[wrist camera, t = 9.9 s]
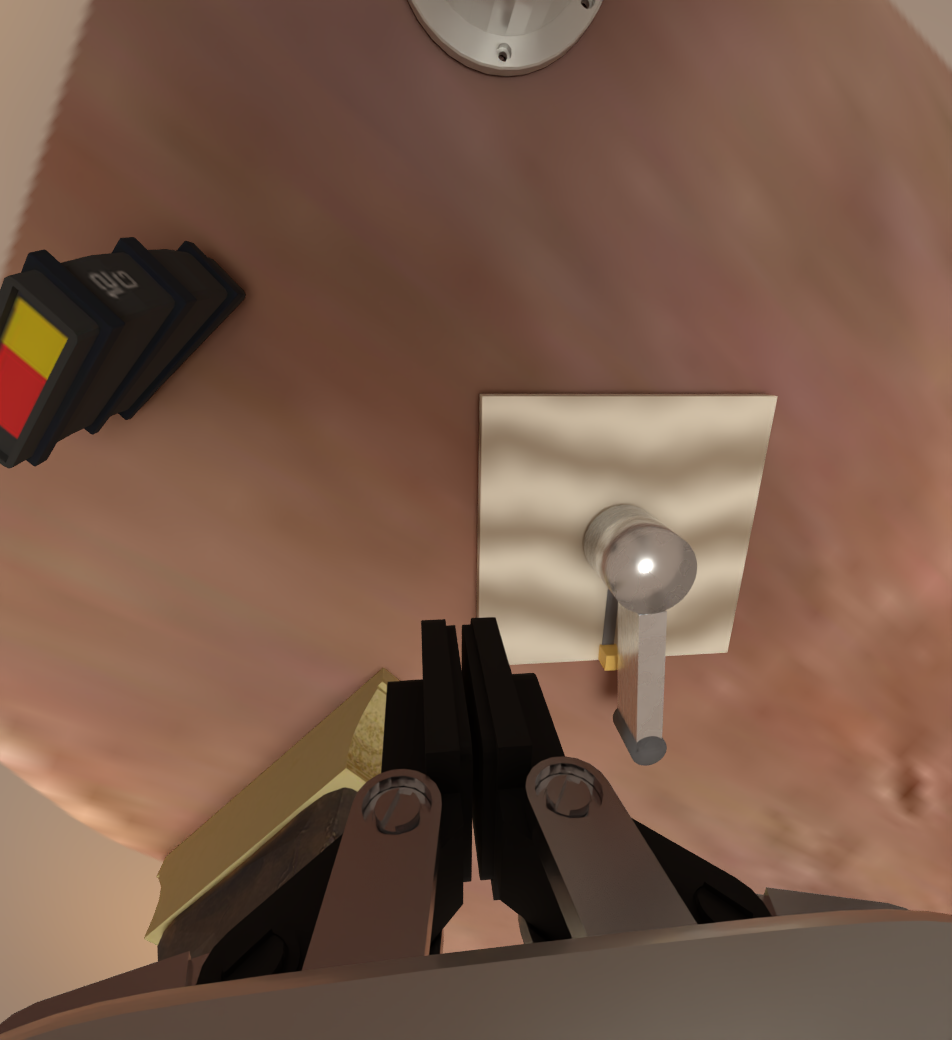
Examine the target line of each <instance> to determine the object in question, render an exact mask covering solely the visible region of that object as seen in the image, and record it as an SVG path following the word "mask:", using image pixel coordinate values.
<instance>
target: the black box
mask: <svg viewBox="0 0 952 1040" xmlns="http://www.w3.org/2000/svg"><path fill="white" fill-rule="evenodd" d="M244 298H245V293H244V291H243V290H242V289H241V288H240V287H239V286H238V285H237V284H236V283H235V282H234V281H233V280H232V279H231V277H230V276H229V275H228V274H227V273H226V272H225V271H224V270H223V269H222V268H221V267H220V266H219V265H218V264H217V263H216V262H215V261H214V260H213V259H211V258H208V257H207V256H206V255H205V254H204V253H203V252H202V251H201V250H200V249H199V248H198V247H197V246H196V245H195V244H194V243H192V242H188V241H185V242H184V243H183V244H182V245H181V246H180V248H179V249H178V250H177V251H175V250H168V249H160V250H147V249H146V248H145V247H144V246H143V245H142V244H141V243H140V242H139V241H138V240H137V239H136V238H134V237H129V238H120V240H119V241H118V243H117V245H116V246H115V248H114V250H113V252H112V253H111V254H101V255H91V256H87V257H83V258H79V259H75V260H71V261H67V262H63V263H60V262H59V261H57V260H56V259H55V258H54V257H53V256H52V255H51V254H50V253H49V252H48V251H46V250H40V251H35V252H31V253H29V254H28V256H27V259H26V261H25V264H24V266H23V269H22V272H21V273H18V274H14V275H10V276H8V277H6V278H4V281H3V284H2V287H1V289H0V463H1V464H2V465H3V466H5V467H7V468H12V467H14V466H16V465H18V464H19V463H21V462H23V461H25V460H27V461H28V462H29V463H31V464H32V465H33V466H37V465H39V464H41V463H42V462H44V461H46V460H47V459H48V457H49V455H50V453H51V452H52V450H53V448H54V447H55V445H56V443H57V442H58V441H60V440H62V439H64V438H65V437H67V436H69V435H71V434H73V433H75V432H77V431H79V430H81V429H83V428H84V429H85V430H87V431H88V432H89V433H90V434H92V435H93V434H95V433H97V432H99V430H100V429H101V428H102V426H103V425H104V424H105V422H106V421H107V420H108V418H109V417H110V416H112V415H114V414H117V413H118V414H120V415H121V416H122V417H123V418H124V419H125V420H128V419H131V418H132V417H133V416H134V415H135V414H136V413H137V411H138V410H139V409H140V408H141V407H142V406H143V405H144V404H145V403H146V402H147V401H148V399H149V398H150V397H151V396H152V395H153V394H154V393H155V392H156V391H157V390H158V389H159V387H160V386H161V385H162V384H163V383H164V382H165V381H166V380H167V379H168V378H169V377H170V376H171V375H172V374H173V373H174V372H175V371H176V370H177V369H178V368H179V367H180V366H181V365H182V363H183V362H184V361H185V360H186V359H187V358H188V357H189V356H190V355H191V354H192V353H193V352H194V351H195V350H196V349H197V348H198V347H199V346H200V345H201V344H202V343H203V342H204V341H205V339H206V338H207V337H208V336H209V335H210V334H211V333H212V332H213V331H214V330H215V329H216V328H217V327H218V326H219V325H220V324H221V323H222V322H223V321H224V320H225V319H226V318H227V317H228V315H229V314H230V313H231V312H232V311H233V310H234V309H235V308H236V307H237V306H238V305H239V304H240V303H241V302H242V301H243V300H244Z"/></svg>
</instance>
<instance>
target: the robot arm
mask: <svg viewBox="0 0 952 1040" xmlns="http://www.w3.org/2000/svg"><path fill="white" fill-rule="evenodd" d="M602 1H603V0H408V2H409V4H410V6H411V8H412V10H413V12H414V14H415V16H416V18H417V19H418V21H419V22H420V24H421V25H422V26H423V28H424V29H425V30H426V32H427V33H428V34H429V36H430V37H431V38H432V40H433V41H435V42H436V43H437V44H438V45H439V46H440V47H441V48H442V49H443V50H444V51H445V52H446V53H447V54H448V55H450V56H451V57H453V58H454V59H456V60H457V61H459V62H461V63H462V64H464V65H465V66H467V67H469V68H472V69H475V70H477V71H480V72H483V73H486V74H492V75H499V76H514V75H523V74H528V73H531V72H534V71H536V70H539V69H542V68H545V67H546V66H548V65H549V64H551V63H553V62H554V61H556V60H557V59H559V58H561V57H562V56H563V55H564V54H565V53H566V52H567V51H568V50H569V49H570V48H571V47H572V46H574V45H575V44H576V43H577V42H578V40H579V39H580V38H581V36H582V35H583V33H584V32H585V30H586V29H587V28H588V26H589V25H590V23H591V22H592V20H593V18H594V17H595V15H596V13H597V11H598V10H599V8H600V6H601V4H602ZM581 3H584V4H585V5H586V6H587V9H586V8H584V7H583V6H582V4H581ZM499 55H503V56H504V57H505V58H506V61H505V62H503V61H500V59H499V58H498V56H499ZM421 628H422V665H423V680H407V681H390V682H388V683H387V693H386V708H385V722H384V737H383V751H382V766H381V773H380V774H378V775H376V776H375V777H373V778H372V779H370V780H368V781H367V782H366V783H365V784H364V785H363V786H362V787H361V788H360V789H359V790H358V792H357V794H356V796H355V798H354V800H353V803H352V806H351V810H350V813H349V816H348V819H347V823H346V826H345V829H344V833H343V834H342V835H340V836H339V837H338V838H337V839H336V840H335V841H334V842H332V843H331V844H330V845H329V846H328V847H327V848H325V849H324V850H323V851H322V852H321V853H320V854H318V855H317V856H316V857H315V858H314V859H313V860H311V861H310V862H309V863H308V864H307V865H306V866H304V867H303V868H302V869H301V870H300V871H299V872H297V873H296V874H295V875H294V876H293V877H292V878H290V879H289V880H288V881H287V882H286V883H285V884H283V885H282V886H281V887H280V888H279V889H278V890H276V891H275V892H274V893H273V894H272V895H271V896H269V897H268V898H267V899H266V900H265V901H264V902H262V903H261V904H260V905H259V906H258V907H257V908H255V909H254V910H253V911H252V912H251V913H250V914H248V915H247V916H246V917H245V918H244V919H243V920H241V921H240V922H239V923H238V924H237V925H236V926H234V927H233V928H232V929H231V930H230V931H229V932H228V933H227V934H226V935H225V936H224V937H223V938H222V939H221V940H220V941H219V942H218V943H217V944H216V945H215V946H214V947H213V949H212V950H211V952H210V953H207V954H204V955H202V956H199V957H196V958H193V959H191V956H190V952H189V951H188V952H185V953H182V954H179V955H176V956H173V957H170V958H167V959H164V960H161V961H158V962H155V963H152V964H149V965H146V966H143V967H140V968H137V969H134V970H132V971H129V972H125V973H123V974H119V975H116V976H113V977H111V978H108V979H105V980H102V981H99V982H96V983H93V984H90V985H87V986H84V987H81V988H78V989H75V990H72V991H69V992H66V993H63V994H60V995H57V996H54V997H51V998H48V999H45V1000H42V1001H40V1002H37V1003H34V1004H32V1005H30V1006H28V1007H27V1008H24V1009H22V1010H20V1011H18V1012H16V1013H14V1014H12V1015H11V1016H10V1017H9V1018H7V1019H6V1020H5V1021H3V1022H2V1023H1V1024H0V1040H952V915H949V914H943V913H936V912H929V911H912V910H908V909H906V908H903V907H899V906H896V905H892V904H889V903H882V902H875V901H867V900H859V899H851V898H844V897H836V896H828V895H821V894H813V893H805V892H797V891H790V890H782V889H774V888H767V887H766V890H765V893H764V895H760V894H755V893H754V892H753V890H752V889H751V888H749V887H748V886H746V885H745V884H744V883H742V882H741V881H739V880H738V879H737V878H735V877H733V876H732V875H730V874H728V873H726V872H725V871H723V870H721V869H719V868H718V867H716V866H714V865H712V864H711V863H709V862H707V861H706V860H704V859H702V858H700V857H699V856H697V855H695V854H693V853H692V852H690V851H688V850H686V849H685V848H683V847H681V846H679V845H678V844H676V843H674V842H672V841H671V840H669V839H667V838H665V837H664V836H662V835H660V834H658V833H657V832H655V831H653V830H651V829H650V828H648V827H646V826H645V825H643V824H641V823H639V822H638V821H636V820H634V819H632V818H631V817H630V815H629V814H628V812H627V810H626V809H625V807H624V806H623V804H622V802H621V801H620V799H619V798H618V796H617V794H616V793H615V791H614V790H613V788H612V786H611V785H610V783H609V782H608V780H607V779H606V778H605V777H604V775H603V774H602V773H601V772H600V771H599V770H598V769H596V768H595V767H594V766H592V765H591V764H589V763H587V762H584V761H582V760H580V759H577V758H571V757H565V755H564V752H563V749H562V747H561V744H560V741H559V738H558V735H557V733H556V730H555V727H554V724H553V721H552V718H551V716H550V713H549V710H548V707H547V704H546V702H545V699H544V696H543V693H542V690H541V688H540V685H539V682H538V679H537V677H536V675H535V674H534V673H524V674H512V673H511V669H510V666H509V662H508V659H507V655H506V652H505V648H504V645H503V641H502V638H501V634H500V631H499V628H498V624H497V621H496V618H495V617H484V618H471V625H462V671H461V664H460V657H459V650H458V643H457V636H456V629H455V625H451V626H446V621H445V619H443V620H422V621H421ZM472 820H473V828H474V836H475V844H476V852H477V860H478V868H479V876H480V880H489V879H491V885H492V892H493V899H494V900H501V901H502V902H503V903H505V904H506V905H507V906H509V907H510V908H511V909H512V910H514V911H515V912H516V913H518V921H519V927H520V932H521V936H522V939H523V942H524V944H522V945H513V946H505V947H496V948H488V949H479V950H471V951H462V952H453V953H445V954H442V953H443V942H444V933H443V928H444V927H445V925H446V924H447V923H448V922H449V921H450V919H451V918H452V917H453V916H454V914H455V913H456V912H457V911H458V909H459V908H460V907H461V906H462V905H463V882H469V881H471V872H472Z"/></svg>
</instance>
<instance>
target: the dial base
mask: <svg viewBox="0 0 952 1040" xmlns="http://www.w3.org/2000/svg"><path fill="white" fill-rule="evenodd" d="M776 401H777V396H774V395H768V394H480V402H479V471H478V539H477V608H476V618H484V617H495V618H496V621H497V624H498V628H499V631H500V634H501V638H502V641H503V645H504V648H505V652H506V655H507V659H508V662H509V665H516V664H534V663H551V662H569V661H586V660H599V661H600V663H601V665H602V667H603V668H604V670H605V671H608V670H618V600H617V599H616V598H615V597H614V595H613V594H612V593H611V591H610V590H609V589H608V587H607V586H606V585H605V584H604V582H603V581H602V580H601V578H600V577H599V576H598V574H597V573H596V572H595V571H594V569H593V568H592V567H591V565H590V564H589V562H588V561H587V559H586V556H585V553H584V539H585V535H586V532H587V530H588V528H589V526H590V524H591V523H592V522H593V520H594V519H595V518H596V517H597V516H598V515H600V514H601V513H602V512H604V511H606V510H607V509H609V508H612V507H615V506H619V505H633V506H637V507H640V508H642V509H644V510H646V511H647V512H648V513H650V514H651V515H652V516H653V517H655V518H656V519H657V520H659V521H660V522H661V523H663V524H664V525H665V526H667V527H668V528H669V529H670V530H672V531H673V532H674V533H676V534H677V535H678V536H680V537H681V538H682V539H684V540H685V541H686V542H687V543H688V544H689V545H690V546H691V548H692V549H693V551H694V553H695V556H696V560H697V574H696V578H695V581H694V583H693V586H692V587H691V589H690V591H689V592H688V594H687V595H686V596H685V597H684V598H683V599H682V600H681V601H680V602H679V603H677V604H676V605H675V606H673V607H671V608H670V609H667V610H666V611H667V627H666V651H665V656H674V655H691V654H709V653H726V652H727V651H728V646H729V641H730V636H731V631H732V626H733V621H734V616H735V611H736V605H737V600H738V595H739V590H740V585H741V580H742V575H743V570H744V565H745V559H746V554H747V549H748V544H749V539H750V534H751V529H752V524H753V519H754V514H755V508H756V503H757V498H758V493H759V488H760V483H761V478H762V473H763V468H764V462H765V457H766V452H767V447H768V442H769V437H770V432H771V427H772V422H773V417H774V411H775V406H776Z"/></svg>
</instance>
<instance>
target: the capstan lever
mask: <svg viewBox="0 0 952 1040" xmlns="http://www.w3.org/2000/svg"><path fill="white" fill-rule="evenodd" d="M584 553H585V556H586V559H587V561H588V562H589V564H590V565H591V567H592V568H593V569H594V571H595V572H596V573H597V574H598V576H599V577H600V578H601V580H602V581H603V582H604V584H605V585H606V586H607V587H608V589H609V590H610V591H611V593H612V594H613V595H614V597H615V598H616V599H617V600H618V705H617V709H616V710H615V712H614V714H613V722H614V724H615V726H616V728H617V730H618V732H619V734H620V736H621V738H622V740H623V742H624V743H625V745H626V747H627V749H628V751H629V753H630V755H631V757H632V759H633V760H634V762H636V763H637V764H639V765H652V764H654V763H656V762H658V761H659V760H661V759H662V758H663V756H664V755H665V753H666V749H667V747H666V743H665V741H664V740H663V738H662V725H663V700H664V676H665V651H666V627H667V611H666V610H667V609H670V608H671V607H673V606H675V605H676V604H677V603H679V602H680V601H681V600H682V599H683V598H684V597H685V596H686V595H687V594H688V592H689V591H690V589H691V587H692V586H693V583H694V581H695V578H696V574H697V560H696V556H695V553H694V551H693V549H692V548H691V546H690V545H689V544H688V543H687V542H686V541H685V540H684V539H682V538H681V537H680V536H678V535H677V534H676V533H674V532H673V531H672V530H670V529H669V528H668V527H667V526H665V525H664V524H663V523H661V522H660V521H659V520H657V519H656V518H655V517H653V516H652V515H651V514H650V513H648V512H647V511H646V510H644V509H642V508H640V507H637V506H633V505H619V506H615V507H612V508H609V509H607V510H606V511H604V512H602V513H601V514H600V515H598V516H597V517H596V518H595V519H594V520H593V522H592V523H591V524H590V526H589V528H588V530H587V532H586V535H585V539H584Z"/></svg>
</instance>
